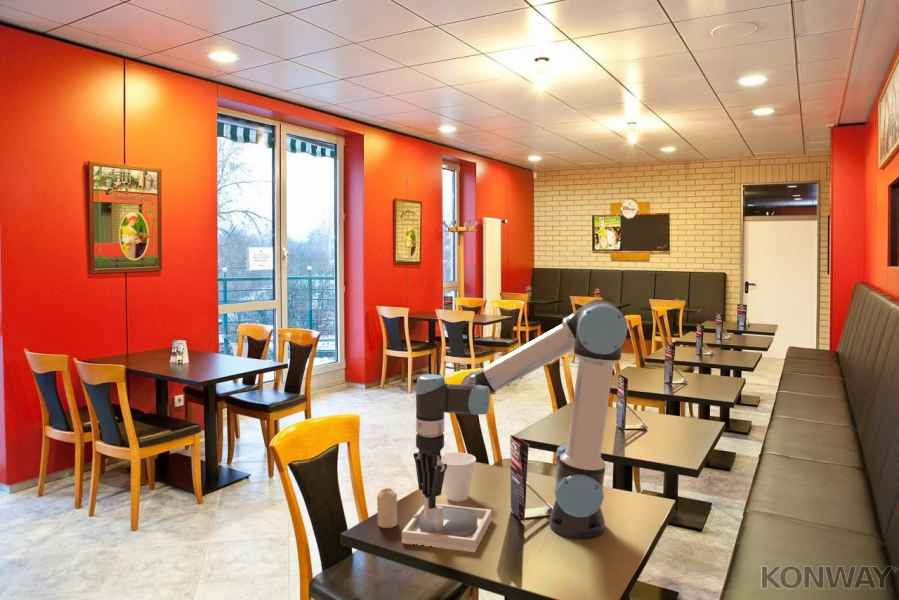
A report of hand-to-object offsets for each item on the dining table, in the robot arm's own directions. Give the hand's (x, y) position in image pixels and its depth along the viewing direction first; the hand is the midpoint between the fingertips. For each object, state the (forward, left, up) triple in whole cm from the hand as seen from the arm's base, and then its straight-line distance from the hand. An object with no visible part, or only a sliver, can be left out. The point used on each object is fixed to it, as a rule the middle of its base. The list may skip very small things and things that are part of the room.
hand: (429, 518), depth 180 cm
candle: (+14, -5, -6) cm, 16 cm away
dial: (-4, -5, -4) cm, 8 cm away
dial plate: (-4, -5, -6) cm, 9 cm away
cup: (0, -29, -6) cm, 30 cm away
